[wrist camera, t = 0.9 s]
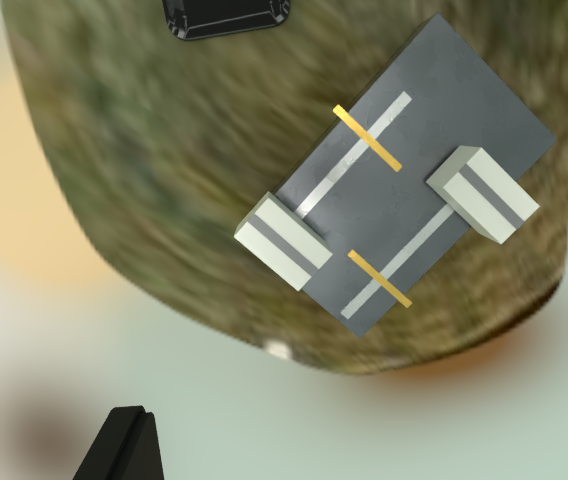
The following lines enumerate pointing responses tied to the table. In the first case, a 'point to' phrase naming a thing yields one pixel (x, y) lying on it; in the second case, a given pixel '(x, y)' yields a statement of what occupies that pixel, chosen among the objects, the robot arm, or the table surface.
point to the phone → (222, 16)
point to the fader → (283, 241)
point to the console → (402, 170)
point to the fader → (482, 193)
